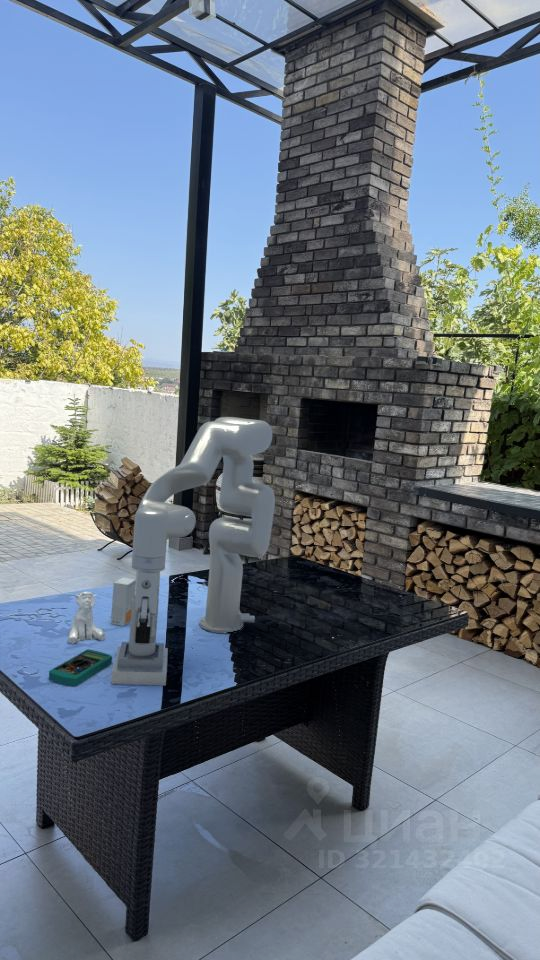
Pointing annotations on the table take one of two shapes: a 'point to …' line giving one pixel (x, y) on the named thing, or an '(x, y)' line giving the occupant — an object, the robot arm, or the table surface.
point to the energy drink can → (135, 648)
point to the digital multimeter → (80, 667)
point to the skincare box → (122, 601)
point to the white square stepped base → (140, 667)
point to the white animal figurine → (84, 620)
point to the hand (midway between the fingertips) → (143, 636)
